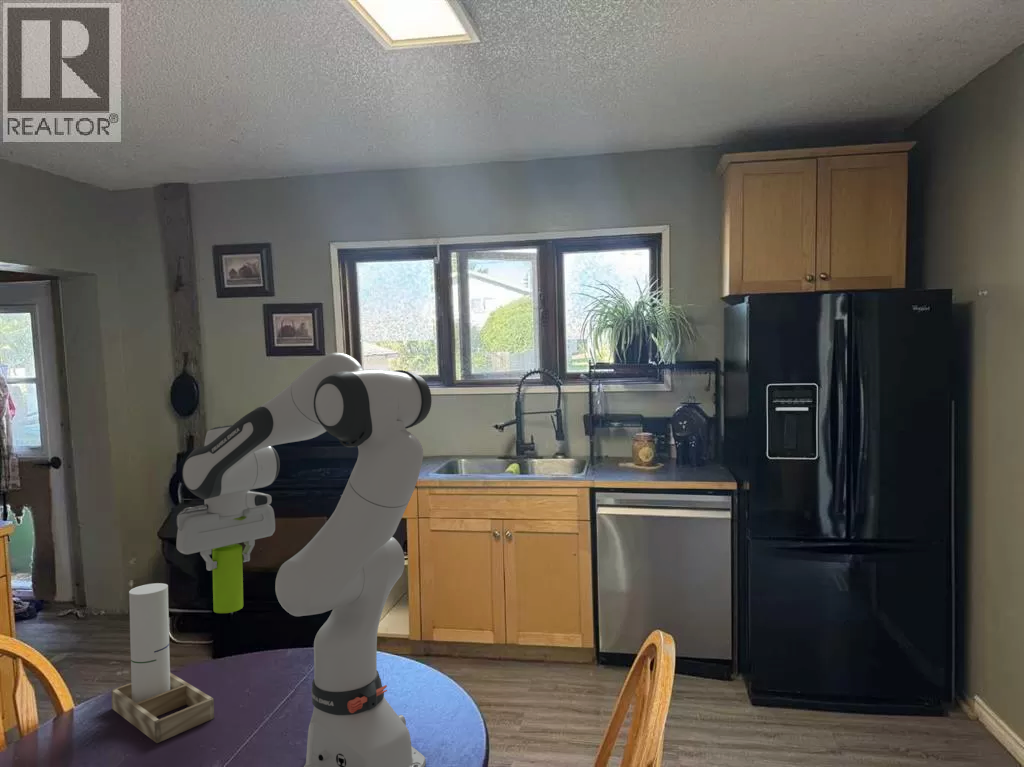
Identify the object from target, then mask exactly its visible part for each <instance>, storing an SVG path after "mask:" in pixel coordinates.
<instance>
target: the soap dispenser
mask: <svg viewBox="0 0 1024 767" xmlns="http://www.w3.org/2000/svg"><path fill="white" fill-rule="evenodd" d="M245 518H246V516H241V517H239V518H234V519H235V520H244V519H245ZM242 553H243V545H242V544H240V543H237V544H233V545H228V546H224V547H219V548H215V549H212V554H211V556H212V558H211V559H212V560H214V561H217V565H216V566H217V569H215V570H212V597H213V598H212V603H213V605H212V606H213V609H212V610H213V612H214V613H216V614H229V613H235V612H237V611H240V610H241V609H243V607H244V582H243V581H244V577H243V576H244V575H243V574H244V573H243V568H244V567H243V566H244V565H243V563H244V562H242Z"/></svg>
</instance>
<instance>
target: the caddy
mask: <svg viewBox="0 0 1024 767" xmlns="http://www.w3.org/2000/svg"><path fill="white" fill-rule="evenodd" d="M110 692H111V709H112V710H113V711H114V712H116V713H117V714H118V715H120V716H121V717H122V718H123V719H125V720H126V721H127V722H129V723H130V724H131V725H132V726H133V727H135V728H136V729H137V730H139V731H140V732H141V733H142V734H144V735H146V736H147V737H148V738H149V739H150V740H151V741H153V742H155V743H156V744H158V743H161V742H163V741H165V740H167V739H170V738H172V737H174V736H177V735H180V734H181V733H183V732H186V731H188V730H191V729H194V728H195V727H197V726H200V725H202V724H204V723H206V722H209V721H211V720H213V719H215V699H214V698H213V697H212V696H210V695H208V694H206V693H205V692H204V691H201V689H199V688H197V687H195V686H194V685H192V684H190V683H188V682H187V681H185V680H183V679H182V678H181V677H178V676H177V675H175V674H174V673H172V672H170V690H169V691H166V692H164V693H161V694H158V695H156V696H153V697H151V698H148V699H145V700H143V701H140V702H138V703H135V702H134V701H133V700H132V685H131V682H129V683H126V684H124V685H121V686H119V687H118V686H117V687H114V688H112V689H111V691H110ZM183 706H187V707H186V708H183V709H181V710H179V711H176V712H174V713H171V714H169V715H166V716H164V717H161V718H158V717H159V716H161V715H165V713H169V712H171V711H173V710H176V709H179V708H181V707H183Z"/></svg>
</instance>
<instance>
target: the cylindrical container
mask: <svg viewBox="0 0 1024 767" xmlns="http://www.w3.org/2000/svg"><path fill="white" fill-rule="evenodd" d="M128 597H129V600H128V601H129V638H130V642H129V643H130V644H129V645H130V667H131V668H130V675H131V676H130V677H131V678H130V680H131V682H130V683H131V685H132V700H133V701H134V702H135V703H138V702H140V701H143V700H145V699H148V698H151V697H153V696H156V695H158V694H161V693H164V692H166V691H169V690H170V673H171V661H170V621H169V618H170V617H169V616H170V615H169V614H170V613H169V585H168V584H167V583H162V582H160V583H159V582H156V583H147V584H143V585H139V586H136V587H133V588H131V589H130V590H129V591H128Z"/></svg>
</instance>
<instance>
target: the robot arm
mask: <svg viewBox="0 0 1024 767" xmlns="http://www.w3.org/2000/svg"><path fill="white" fill-rule="evenodd" d="M432 400H433V398H432V392H431V389H430V387H429V385H428V383H427V382H426V380H425V379H424V378H423V377H422V376H421V375H418V374H417V373H415V372H411V371H409V370H403V369H402V370H400V369H397V370H386V369H376V368H375V369H374V368H372V369H371V368H370V369H364V368H363V366H362V365H361V363H360V362H359V361H358V360H357V359H356V358H354V357H353V356H351V355H349V354H346V353H343V352H332V353H328V354H327V355H324V356H323V357H321V358H320V359H318V360H316V361H315V362H314V363H312V364H311V365H309V366H308V367H307V368H305V369H304V370H303V371H302V372H301V373H300V374H299V375H298V376H297V377H296V378H295V379H294V380H293V381H292V382H291V383H290V384H288V386H286V387H285V388H284V389H283V390H281V391H280V392H278V394H276V395H275V396H274V397H272V398H270V399H269V400H267V401H266V402H265V403H263V404H261V405H259V406H258V407H256V408H254V409H253V410H252V411H250V412H249V413H247V414H245V415H244V416H242V417H241V418H240V419H239V420H238V421H236V422H234V423H233V424H229V425H228V424H227V425H222V426H217V427H212V428H210V429H209V430H208V431H206V435H205V437H204V438H205V439H204V446H197V447H196V448H194V449H193V450H192V451H191V452H190V453H189V454H188V456H187V457H186V458H185V461H184V463H183V464H182V469H181V477H182V482H183V484H184V486H185V488H186V489H187V490H188V491H190V492H191V493H192V494H193V496H196V497H198V498H200V499H201V500H204V504H202V505H201V504H200V505H195V506H192V507H191V506H190V507H185V508H183V510H181V511H180V512H178V514H177V516H176V527H177V533H176V540H175V541H176V542H175V543H176V544H175V545H176V546H175V548H176V549H177V551H178V552H179V553H181V554H183V555H192V554H196V553H199V554H200V556H201V557H202V559H203V560H204V562H205V566H206V568H205V569H206V571H208V572H209V571H213V570H215V569H217V566H216V565H217V561H214V560H212V558H211V555H212V549H215V548H219V547H224V546H228V545H233V544H241V543H243V544H244V545H245V546H244V548H243V550H242V562H243V563H246V562H250V560H251V553H252V550H254V547H255V545H256V544H255V543H256V540H259V539H263V538H267V537H268V538H269V537H271V536H273V534H274V533H275V531H276V518H275V511H274V508H273V507H272V506H271V504H272V501H273V500H272V499H273V498H272V495H270V494H268V493H264V492H259V491H257V490H258V489H262V488H266V487H268V486H272V484H273V483H274V482H275V481H276V479H277V477H278V476H279V473H280V467H281V466H280V465H281V462H280V457H279V454H278V452H277V450H276V449H275V448H274V447H273V446H278V445H283V444H288V443H290V444H291V443H295V442H301V441H308V440H311V439H313V438H314V439H315V438H317V437H319V436H320V435H323V434H324V433H326V432H327V433H328V434H330V435H331V436H333V437H335V438H336V439H337V440H338V441H339V443H340V445H341V446H343V447H346V448H356V447H357V449H358V454H357V460H356V462H355V464H354V467H353V468H352V471H351V473H350V476H349V478H348V481H347V483H346V486H345V488H344V489H343V492H342V495H341V497H340V499H339V500H338V503H337V505H336V507H335V510H334V511H333V512H332V514H331V515H330V517H328V520H326V522H325V523H324V524H323V526H322V527H321V528H320V529H319V531H317V533H316V534H315V535H314V536H313V537H312V539H311V540H310V541H309V542H307V544H306V545H305V546H304V547H303V548H302V549H300V550H299V551H298V552H297V553H296V554H294V555H293V556H292V557H290V558H289V559H287V560H286V561H284V563H282V564H281V565H280V567H279V569H278V571H277V574H276V578H275V583H274V584H275V586H274V587H275V588H274V590H275V595H276V599H277V600H278V602H279V604H280V605H281V607H282V609H284V610H285V611H286V612H287V613H289V615H291V616H294V617H303V616H313V615H319V614H320V615H321V614H324V613H326V612H329V611H331V610H332V611H331V612H330V614H329V617H328V618H327V620H326V621H325V622H324V623H323V625H322V626H321V627H320V628H319V630H318V631H317V633H316V635H315V638H314V641H313V672H314V673H313V674H314V675H313V676H314V677H313V680H312V682H311V686H312V687H311V692H310V693H311V702H312V705H313V710H312V711H313V712H312V714H311V718H310V721H309V725H308V729H307V730H308V731H307V739H306V740H307V742H306V756H305V764H304V765H303V767H426V763H427V762H426V756H424V755H423V754H422V753H421V752H420V751H418V750H417V749H416V748H415V747H414V746H412V740H411V739H412V738H411V735H410V731H409V729H408V727H407V726H406V725H407V722H406V720H407V719H406V718H405V717H404V715H403V714H399V715H398V714H397V712H396V711H395V710H394V708H393V707H392V706H391V704H390V702H389V701H387V699H386V697H385V693H386V692H388V689H386V688H387V687H388V686H387V684H385V685H383V684H382V679H381V677H380V674H379V673H380V672H379V671H378V670H377V668H378V667H377V664H378V663H377V659H378V658H377V654H378V653H377V650H378V649H377V648H378V647H377V646H378V645H377V644H378V631H379V625H380V621H381V617H382V614H383V610H384V607H385V605H386V602H387V600H388V598H389V595H390V593H391V590H392V589H393V587H394V586H395V584H396V583H397V581H399V579H400V578H401V576H402V575H403V572H404V569H405V561H406V560H405V554H404V550H403V547H402V546H401V544H400V543H399V541H398V540H397V539H396V538H395V537H393V536H394V535H395V533H396V532H397V529H398V527H399V524H400V522H401V520H402V518H403V516H404V514H405V511H406V509H407V506H408V505H409V502H410V500H411V498H412V496H413V493H414V490H415V488H416V485H417V484H418V483H417V482H418V479H419V476H420V473H421V469H422V465H423V464H422V463H423V459H424V449H423V446H422V443H421V441H419V438H417V436H415V435H414V434H412V432H410V431H408V429H409V428H413V427H414V426H415V427H416V426H417V425H419V424H420V423H422V422H423V421H424V420H425V419H426V418H427V416H428V415H429V413H430V410H431V407H432ZM256 489H257V490H256ZM241 516H246V518H245V519H244V520H235V519H234V518H239V517H241Z"/></svg>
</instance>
